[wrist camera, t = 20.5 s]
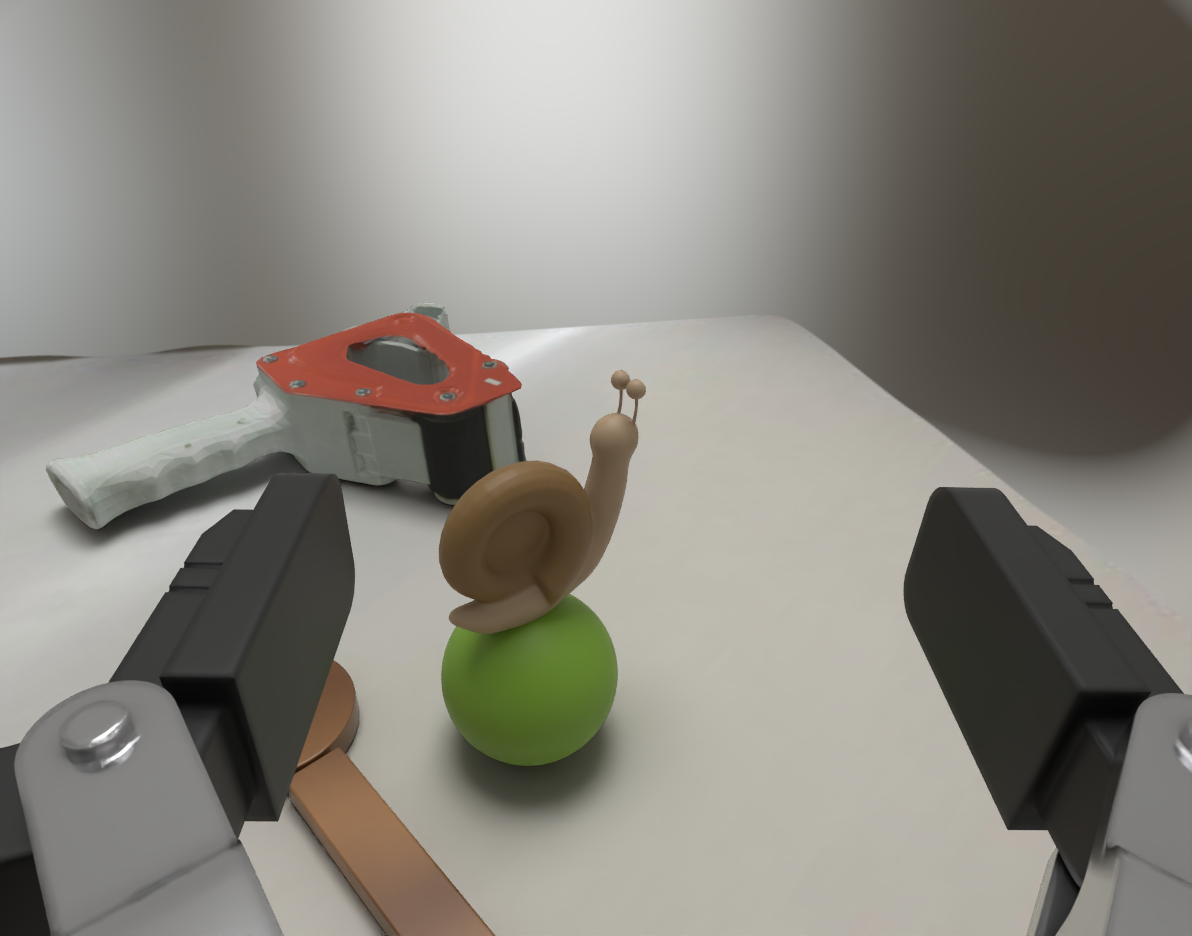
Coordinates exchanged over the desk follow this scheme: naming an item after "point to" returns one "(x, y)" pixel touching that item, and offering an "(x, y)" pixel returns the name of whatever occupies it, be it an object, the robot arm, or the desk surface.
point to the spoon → (371, 829)
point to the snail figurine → (534, 600)
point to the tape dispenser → (330, 420)
